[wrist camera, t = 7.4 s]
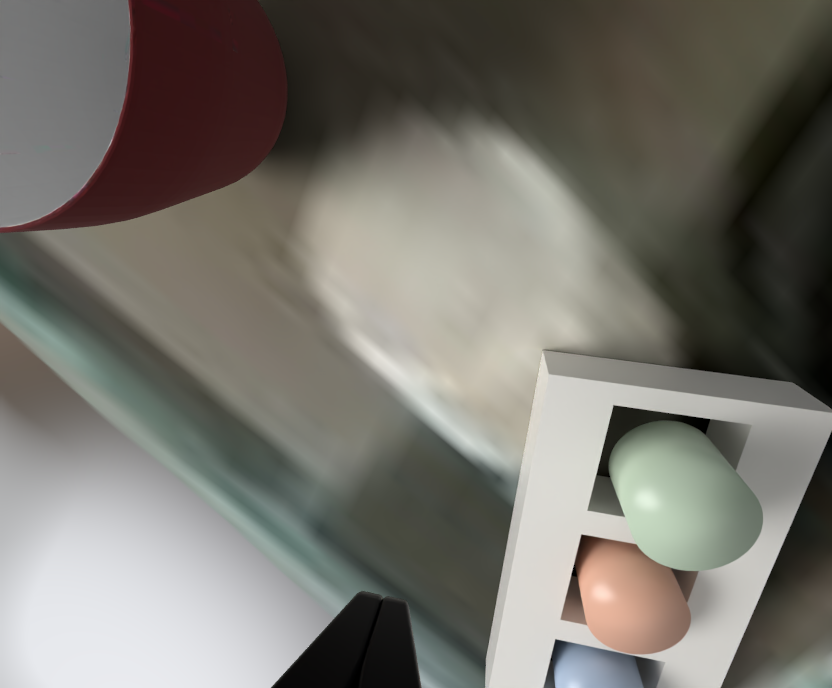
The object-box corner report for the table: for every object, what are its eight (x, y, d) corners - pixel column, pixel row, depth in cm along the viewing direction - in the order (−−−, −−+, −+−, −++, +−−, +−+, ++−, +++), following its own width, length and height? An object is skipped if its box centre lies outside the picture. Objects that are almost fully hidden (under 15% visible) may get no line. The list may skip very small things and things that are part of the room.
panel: (792, 382, 17) (839, 413, 15) (670, 699, 23) (690, 757, 20) (542, 349, 18) (548, 374, 16) (486, 658, 24) (484, 709, 22)
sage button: (731, 429, 16) (781, 482, 13) (701, 515, 17) (740, 580, 14) (620, 413, 16) (646, 461, 13) (598, 498, 17) (618, 558, 15)
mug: (49, 60, 18) (-441, -75, 9) (147, -157, 15) (-422, -706, 6) (257, 252, 19) (24, 317, 10) (385, 83, 16) (230, -55, 7)
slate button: (641, 629, 21) (662, 698, 18) (622, 685, 22) (640, 758, 19) (558, 612, 21) (567, 677, 18) (544, 668, 23) (551, 736, 20)
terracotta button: (673, 530, 19) (703, 589, 16) (651, 597, 20) (675, 663, 17) (582, 514, 19) (596, 569, 17) (566, 580, 21) (576, 642, 18)
